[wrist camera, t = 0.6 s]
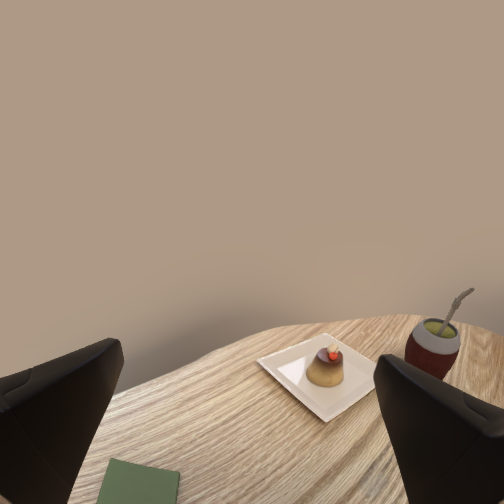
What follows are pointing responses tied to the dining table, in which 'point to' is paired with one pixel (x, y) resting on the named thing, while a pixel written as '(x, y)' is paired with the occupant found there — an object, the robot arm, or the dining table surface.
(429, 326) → the mate gourd
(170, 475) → the coaster
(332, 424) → the dining table surface
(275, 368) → the dessert
